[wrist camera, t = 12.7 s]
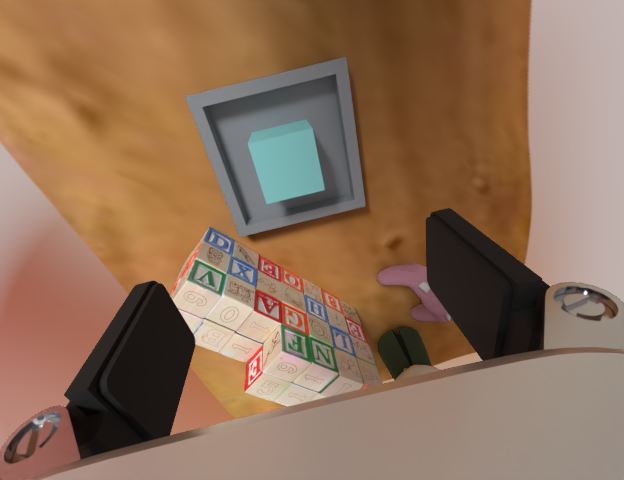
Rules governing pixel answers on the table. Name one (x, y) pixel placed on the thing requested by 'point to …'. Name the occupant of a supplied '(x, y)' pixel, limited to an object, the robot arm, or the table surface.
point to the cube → (286, 161)
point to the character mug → (404, 354)
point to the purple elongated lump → (416, 291)
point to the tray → (275, 112)
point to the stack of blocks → (272, 324)
